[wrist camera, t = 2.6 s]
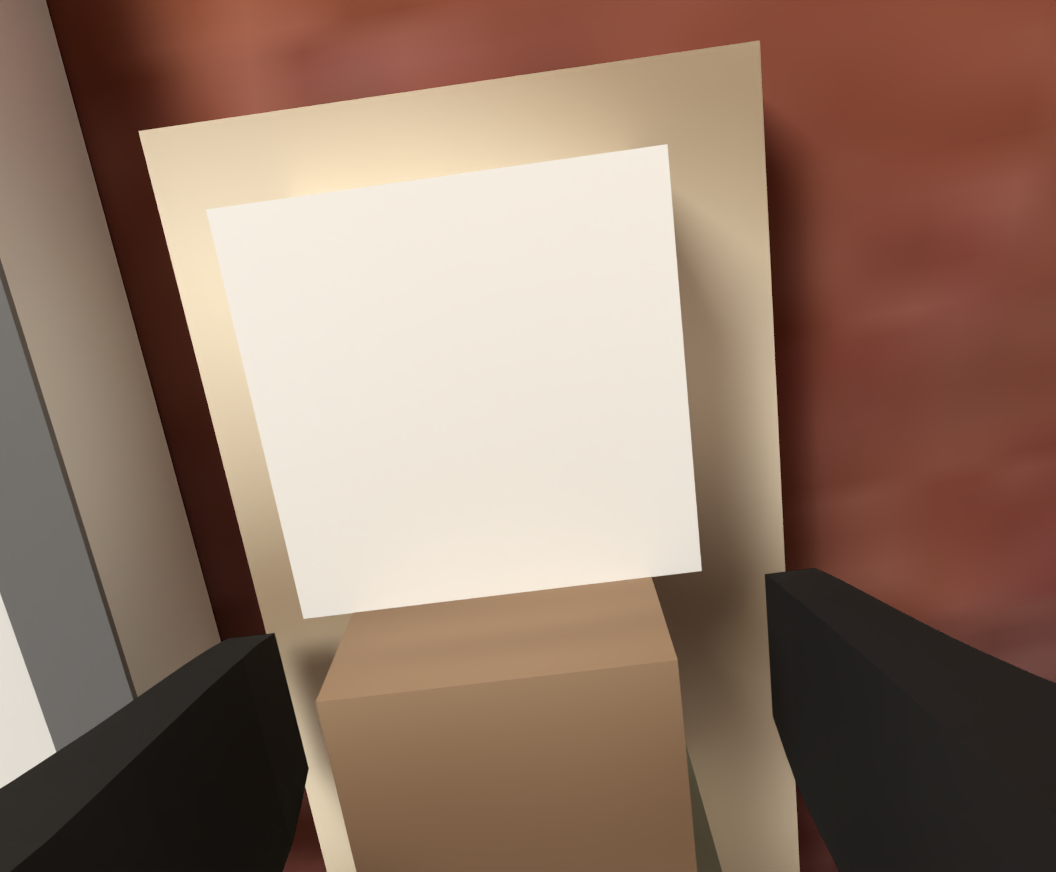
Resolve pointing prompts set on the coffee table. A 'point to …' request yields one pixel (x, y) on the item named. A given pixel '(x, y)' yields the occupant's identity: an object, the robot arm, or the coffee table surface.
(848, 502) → the coffee table surface
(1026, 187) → the coffee table surface
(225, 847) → the robot arm
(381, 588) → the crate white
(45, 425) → the dock
